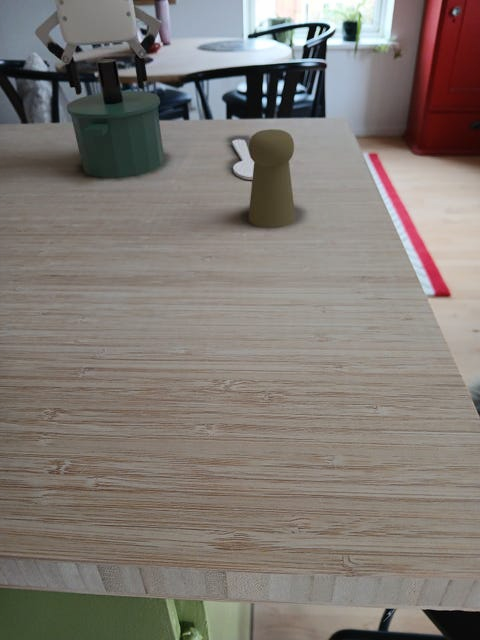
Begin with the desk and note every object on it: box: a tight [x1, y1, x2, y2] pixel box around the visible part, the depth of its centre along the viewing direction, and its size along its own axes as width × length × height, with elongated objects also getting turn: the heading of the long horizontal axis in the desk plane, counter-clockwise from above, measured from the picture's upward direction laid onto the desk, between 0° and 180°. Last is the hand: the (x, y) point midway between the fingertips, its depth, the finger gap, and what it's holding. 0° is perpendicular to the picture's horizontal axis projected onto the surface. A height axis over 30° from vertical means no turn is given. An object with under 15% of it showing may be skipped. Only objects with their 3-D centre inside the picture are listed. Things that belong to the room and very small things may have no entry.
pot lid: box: [66, 58, 161, 119], centre depth 75 cm, size 14×14×7 cm
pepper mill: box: [248, 128, 296, 229], centre depth 61 cm, size 6×6×11 cm
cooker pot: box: [70, 106, 165, 179], centre depth 79 cm, size 13×18×10 cm
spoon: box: [231, 139, 254, 181], centre depth 82 cm, size 5×18×1 cm, turn 8°
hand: (110, 89), depth 75 cm, fingers open, 8 cm apart
